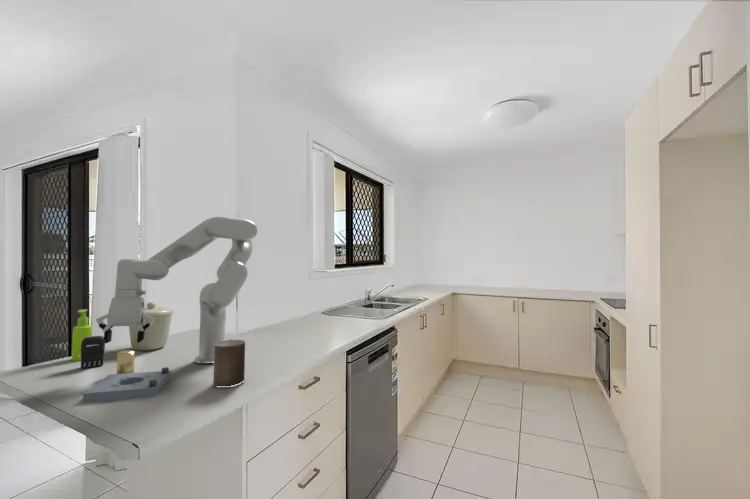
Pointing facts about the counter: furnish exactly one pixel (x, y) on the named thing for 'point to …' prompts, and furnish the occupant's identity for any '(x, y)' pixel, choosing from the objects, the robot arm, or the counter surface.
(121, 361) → the brass cylinder
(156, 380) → the plate
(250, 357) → the counter surface
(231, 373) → the pillar candle
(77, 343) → the soap dispenser
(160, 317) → the canister
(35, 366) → the counter surface
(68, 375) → the counter surface
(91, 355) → the battery charger
